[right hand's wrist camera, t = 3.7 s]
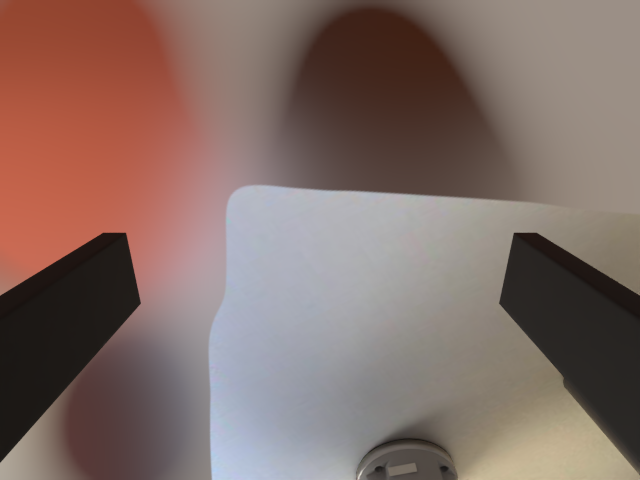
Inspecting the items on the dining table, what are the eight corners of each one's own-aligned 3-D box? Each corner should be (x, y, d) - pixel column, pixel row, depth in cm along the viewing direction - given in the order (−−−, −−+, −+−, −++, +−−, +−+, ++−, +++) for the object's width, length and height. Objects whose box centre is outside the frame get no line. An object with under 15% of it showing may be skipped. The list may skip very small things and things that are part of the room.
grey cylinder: (571, 366, 49) (677, 478, 34) (598, 370, 49) (714, 483, 35) (558, 388, 50) (655, 505, 36) (584, 393, 50) (691, 510, 36)
